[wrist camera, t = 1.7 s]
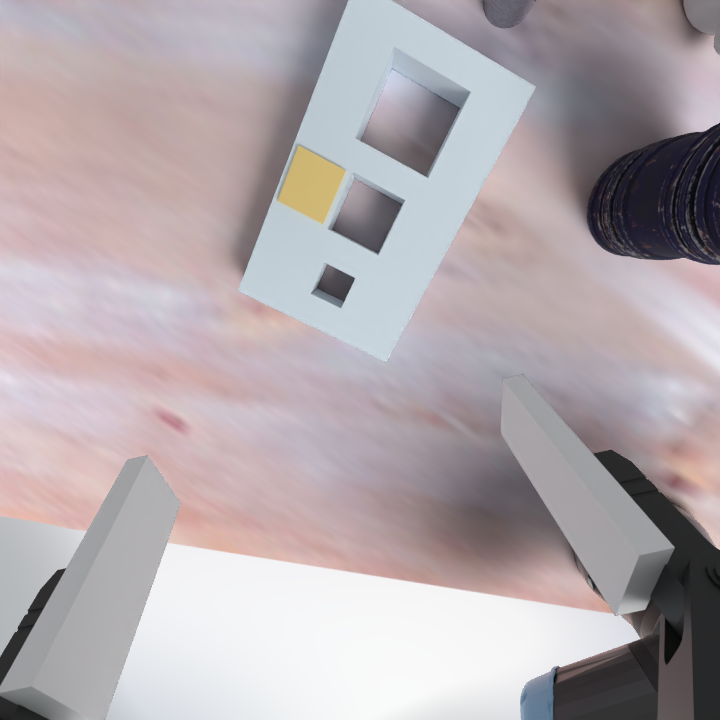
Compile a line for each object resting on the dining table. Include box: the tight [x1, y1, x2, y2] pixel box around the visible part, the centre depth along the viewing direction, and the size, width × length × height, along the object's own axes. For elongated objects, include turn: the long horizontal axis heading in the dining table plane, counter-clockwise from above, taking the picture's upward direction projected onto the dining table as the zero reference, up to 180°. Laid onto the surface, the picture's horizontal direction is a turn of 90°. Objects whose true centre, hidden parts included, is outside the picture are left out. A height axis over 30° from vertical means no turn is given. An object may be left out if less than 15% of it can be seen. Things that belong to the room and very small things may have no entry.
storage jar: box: [587, 123, 720, 265], centre depth 29 cm, size 10×10×15 cm
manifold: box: [238, 0, 536, 362], centre depth 34 cm, size 16×26×4 cm, turn 154°
